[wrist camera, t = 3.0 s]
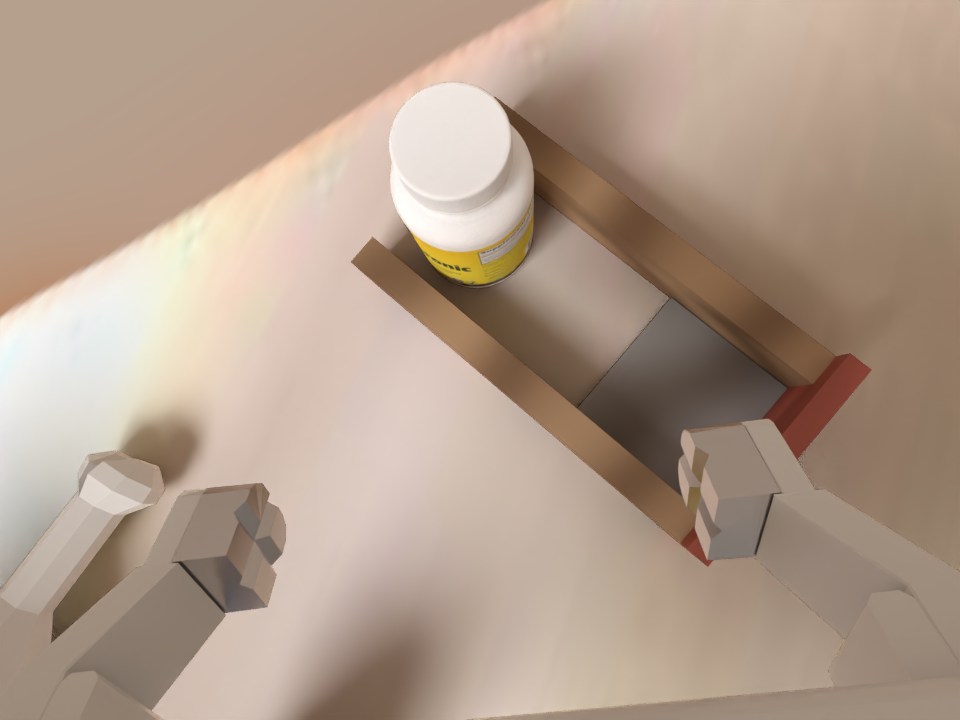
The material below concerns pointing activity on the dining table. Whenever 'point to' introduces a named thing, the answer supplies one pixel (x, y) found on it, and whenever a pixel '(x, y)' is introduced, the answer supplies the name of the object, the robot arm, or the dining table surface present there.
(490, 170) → the supplement bottle
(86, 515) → the chicken leg
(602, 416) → the guide channel
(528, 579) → the dining table surface
